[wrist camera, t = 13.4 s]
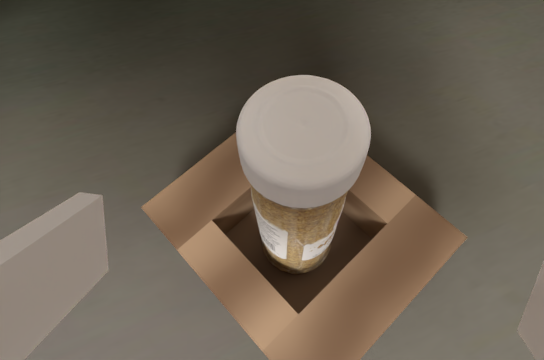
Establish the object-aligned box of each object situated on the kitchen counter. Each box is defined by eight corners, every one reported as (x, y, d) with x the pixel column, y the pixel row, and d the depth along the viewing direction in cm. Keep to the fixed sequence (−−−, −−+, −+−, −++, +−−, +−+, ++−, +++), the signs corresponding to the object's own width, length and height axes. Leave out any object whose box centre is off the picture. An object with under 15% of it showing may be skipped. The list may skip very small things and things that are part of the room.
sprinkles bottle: (336, 271, 24) (388, 179, 11) (263, 278, 24) (237, 194, 11) (324, 203, 26) (359, 62, 13) (257, 210, 26) (230, 75, 13)
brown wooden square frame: (165, 232, 27) (141, 207, 22) (288, 130, 30) (288, 90, 25) (307, 400, 22) (313, 411, 18) (435, 258, 25) (467, 237, 21)
